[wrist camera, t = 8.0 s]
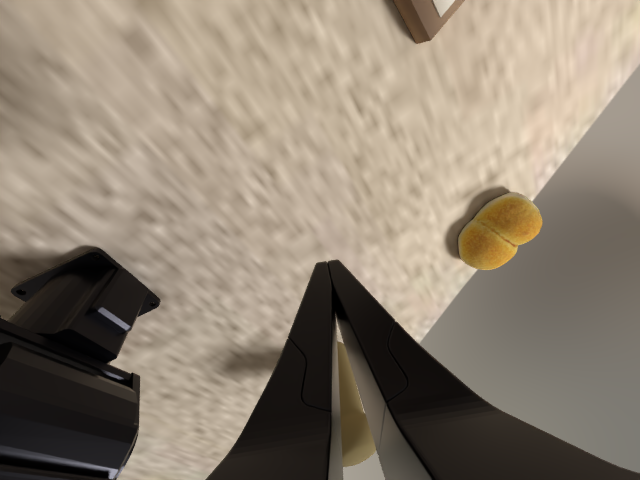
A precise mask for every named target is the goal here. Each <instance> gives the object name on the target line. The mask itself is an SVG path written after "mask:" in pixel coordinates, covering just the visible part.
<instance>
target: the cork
mask: <svg viewBox="0 0 640 480" xmlns="http://www.w3.org/2000/svg"><path fill="white" fill-rule="evenodd" d="M337 349H338V372H339V394H340V417H341V440H342V464H343V467H347V466H353V465H356V464H359V463H361V462H363V461H364V460H366V459H367V458H369V457H370V456H371V455H373V454H374V452H375V451H376V447H375V444H374V441H373V437H372V434H371V431H370V427H369V424H368V421H367V418H366V414H365V413H364V411H363V408H362V404H361V400H360V396H359V393H358V389H357V385H356V382H355V378H354V375H353V372H352V368H351V365H350V362H349V358H348V355H347V352H346V349H345V345H344V344H343V343H341V342H337Z"/></svg>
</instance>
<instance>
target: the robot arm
mask: <svg viewBox="0 0 640 480" xmlns="http://www.w3.org/2000/svg"><path fill="white" fill-rule="evenodd" d="M94 255H98V256H99V258H98V257H95V256H94ZM23 290H24V291H23ZM11 292H12V294H13V295H14V296H16V297H18V298H19V299H21V300H23V301H25V302H26V303H25V304H24V305H23V306H22V307H21V308H20V309H19V310H18V311H17V312H16V313H15V314H14V315H13V316H12V317H11V318H10V319H9V320H8V321H6V320H3V319H1V318H0V480H116V479H117V477H118V476H119V474H120V473H121V471H122V470H123V468H124V467H125V465H126V463H127V461H128V459H129V457H130V455H131V453H132V451H133V448H134V446H135V443H136V440H137V436H138V430H139V400H140V376H139V375H137V374H135V373H131V374H130V373H128V372H125V371H123V370H121V369H118V368H116V367H114V366H111V365H109V364H110V362H111V361H112V360H114V359H116V358H117V356H118V354H119V352H120V350H121V347H122V345H123V343H124V341H125V339H126V336H127V334H128V332H129V331H131V329H132V327H133V325H134V323H135V321H136V318H137V317H139V316H141V315H143V314H145V313H147V312H149V311H151V310H153V309H155V308H157V307H159V305H160V302H161V301H160V299H159V298H158V297H157V296H156V295H155V294H154V293H152V292H151V291H150V290H149V289H148V288H147V287H146V286H145V285H143V284H142V283H141V282H140V281H139V280H138V279H136V278H135V277H134V276H133V275H132V274H131V273H129V272H128V271H127V270H126V269H124V268H123V267H122V266H121V265H120V264H118V263H117V262H116V261H115V260H114V259H113V258H111V257H110V256H109V255H108V254H107V253H106V252H104V251H103V250H101V249H92V250H90V251H88V252H85V253H83V254H81V255H79V256H77V257H75V258H73V259H70V260H68V261H66V262H64V263H62V264H60V265H58V266H55V267H53V268H51V269H49V270H47V271H45V272H43V273H40V274H38V275H36V276H34V277H32V278H30V279H28V280H25V281H23V282H21V283H19V284H17V285H16V286H15V287H14V288H13V289H12V290H11ZM151 302H154V303H151ZM335 314H336V315H335ZM0 317H1V316H0ZM336 318H337V322H338V326H339V329H340V332H341V336H342V339H343V342H344V345H345V349H346V352H347V355H348V358H349V362H350V365H351V368H352V372H353V375H354V378H355V381H356V385H357V388H358V391H359V395H360V398H361V401H362V404H363V408H364V411H365V414H366V418H367V421H368V424H369V427H370V431H371V434H372V437H373V441H374V444H375V447H376V450H377V454H378V455H379V460H380V464H381V467H382V470H383V473H384V477H385V480H640V473H637V472H634V471H631V470H627V469H625V468H621V467H618V466H616V465H614V464H612V463H609V462H607V461H605V460H602V459H600V458H598V457H596V456H594V455H592V454H590V453H588V452H585V451H584V450H582V449H580V448H578V447H576V446H573V445H571V444H569V443H567V442H565V441H563V440H561V439H559V438H557V437H555V436H553V435H551V434H549V433H547V432H545V431H542V430H540V429H538V428H536V427H534V426H532V425H530V424H528V423H526V422H524V421H521V420H520V419H518V418H516V417H513V416H511V415H509V414H507V413H505V412H503V411H501V410H499V409H498V408H496V407H494V406H492V405H491V404H490V403H488V402H487V401H485V400H484V399H482V398H481V397H480V396H478V395H477V394H476V393H475V392H473V391H472V390H471V389H470V388H468V387H467V386H466V385H465V384H464V383H463V382H462V381H461V380H459V379H458V378H457V377H456V376H455V375H453V374H452V373H451V372H450V371H449V370H448V369H447V368H445V367H444V366H443V365H442V364H441V363H439V362H438V361H437V360H436V359H435V358H434V357H433V356H431V355H430V354H429V353H428V352H427V351H426V350H425V349H424V348H423V347H421V346H420V345H419V344H418V343H417V342H416V341H415V340H414V339H413V338H412V337H411V336H410V335H409V334H408V333H407V332H406V331H405V330H404V329H403V328H402V327H401V326H400V325H399V323H398V322H395V319H394V318H393V317H392V316H391V315H390V314H389V313H388V312H387V311H386V310H385V309H384V308H383V307H382V305H381V304H380V303H379V302H378V301H377V300H376V299H375V298H374V297H373V296H372V295H371V294H370V293H369V292H368V291H367V289H366V288H365V287H364V286H363V285H362V284H361V283H360V282H359V281H358V280H357V279H356V278H355V277H354V276H353V275H352V273H351V272H350V271H349V270H348V269H347V268H346V267H345V266H344V265H343V264H342V263H341V262H340V261H339V260H331V261H328V263H327V262H326V261H324V262H318V263H316V265H315V267H314V270H313V273H312V275H311V278H310V281H309V283H308V286H307V288H306V291H305V294H304V296H303V299H302V302H301V304H300V307H299V309H298V312H297V315H296V317H295V320H294V323H293V325H292V328H291V330H290V333H289V336H288V339H287V341H286V343H285V346H284V348H283V351H282V353H281V356H280V358H279V360H278V363H277V365H276V367H275V369H274V371H273V373H272V375H271V377H270V379H269V382H268V383H267V385H266V387H265V389H264V391H263V393H262V395H261V397H260V399H259V401H258V403H257V405H256V406H255V408H254V410H253V412H252V414H251V416H250V418H249V420H248V422H247V424H246V426H245V427H244V429H243V431H242V433H241V435H240V436H239V438H238V440H237V441H236V443H235V444H234V446H233V447H232V449H231V450H230V451H229V453H228V454H227V455H226V457H225V458H224V459H223V460H222V461H221V463H220V464H219V465H218V466H217V467H216V468H215V469H214V471H213V472H212V473H211V474H210V475H209V476H208V477H207V479H206V480H343V464H342V440H341V417H340V394H339V372H338V349H337V326H336Z"/></svg>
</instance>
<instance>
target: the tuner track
mask: <svg viewBox="0 0 640 480" xmlns="http://www.w3.org/2000/svg"><path fill="white" fill-rule="evenodd" d="M393 1H394V3H395V5H396V7H397V9H398V10H399V12H400V14H401V16H402V18H403V20H404V22H405V23H406V25H407V27H408V29H409V31H410V33H411V35H412V36H413V38H414V40H415V42H416V44H418V43H422V42H426V41H430V40H432V38H433V37H434V36H435V35H436V34H437V32H438V31H439V30H440V29H441V28H442V27H443V25H444V24H445V23H446V22H447V21H448V19H449V18H450V17H451V16H452V15H453V14H454V12H455V11H456V10H457V9H458V8H459V7H460V5H461V4H462V3H463V2H464V1H465V0H393Z"/></svg>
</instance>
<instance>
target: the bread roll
mask: <svg viewBox="0 0 640 480" xmlns="http://www.w3.org/2000/svg"><path fill="white" fill-rule="evenodd" d="M541 226H542V218H541V215H540V213H539V209H537V207H536V206H535V205H534V204H533V203H532V201H531V200H529V199H528V198H527V197H525V196H524V195H522V194H519V193H515V192H511V193H507V194H504V195H502V196H500V197H497V198H495V199H493V200H491V201H490V202H488V203H487V204H486V205H485V206H484V207H483V208H482V209H481V210H480V211H479V212H478V213H477V215H476V216H475V217H474V219H473V220H472V221H470V222H469V223H468V224H467V225H466V226H465V227H464V228H463V230H462V231H461V233H460V235H459V239H458V246H459V255H460V257H461V259H462V261H463V262H465V263H466V264H467V265H469V266H471V267H473V268H476V269H481V270H490V269H494V268H497V267H499V266H501V265H503V264H504V263H506V262H507V261H509V260H510V259H511V258H512V257H513V256H514V255H515V253H516V251H517V246H518V245H520V244H523V243H526V242H528V241H530V240H531V239H533V238H534V237H535V236H536V235H537V234H538V233H539V231H540V229H541Z"/></svg>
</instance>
